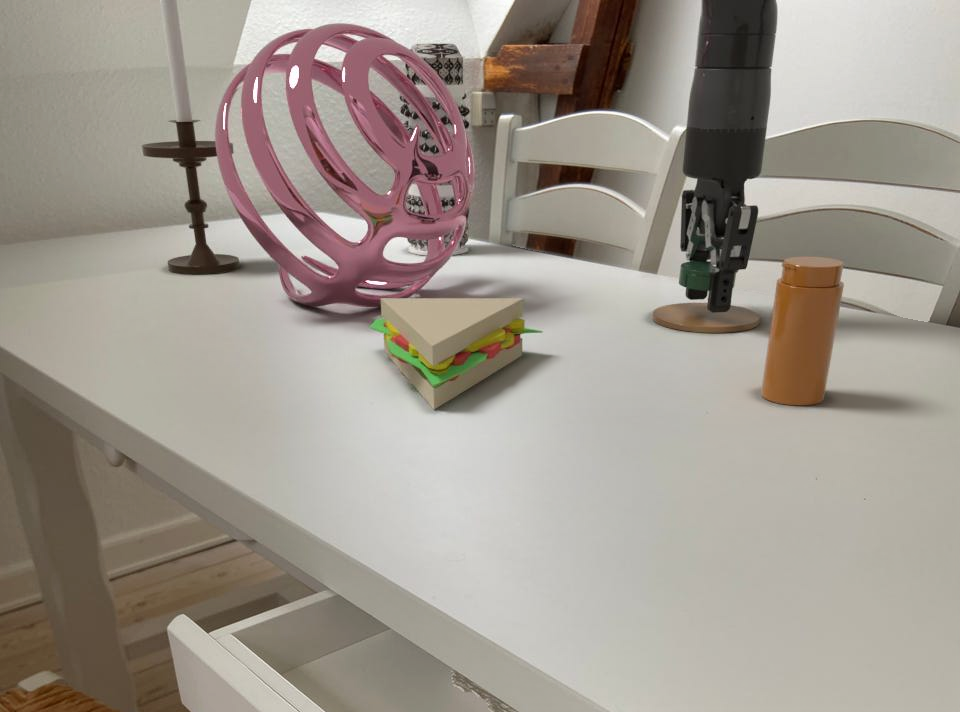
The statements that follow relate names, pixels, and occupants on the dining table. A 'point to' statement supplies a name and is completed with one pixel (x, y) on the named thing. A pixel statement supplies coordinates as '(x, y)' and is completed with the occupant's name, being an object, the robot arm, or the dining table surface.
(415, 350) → the sandwich
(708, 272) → the lid
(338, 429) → the dining table surface
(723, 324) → the coaster
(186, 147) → the candlestick
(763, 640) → the dining table surface
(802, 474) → the dining table surface
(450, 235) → the decorative candle
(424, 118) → the spiral basket
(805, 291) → the jar
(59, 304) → the dining table surface
